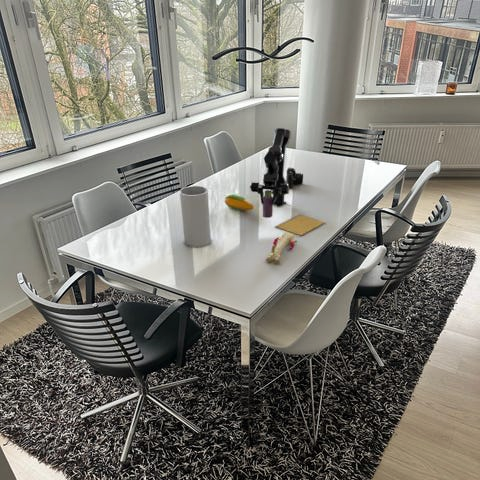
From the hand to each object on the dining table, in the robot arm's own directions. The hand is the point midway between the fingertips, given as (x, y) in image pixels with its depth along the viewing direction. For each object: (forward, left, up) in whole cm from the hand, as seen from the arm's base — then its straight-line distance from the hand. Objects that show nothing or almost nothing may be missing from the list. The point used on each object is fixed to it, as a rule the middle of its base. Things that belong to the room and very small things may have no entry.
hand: (267, 204), depth 221 cm
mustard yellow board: (-15, +10, -13) cm, 22 cm away
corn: (-11, -28, -13) cm, 33 cm away
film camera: (-62, -30, -13) cm, 70 cm away
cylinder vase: (+32, -16, -13) cm, 39 cm away
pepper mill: (-1, -1, -7) cm, 7 cm away
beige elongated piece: (+14, +21, -13) cm, 29 cm away
